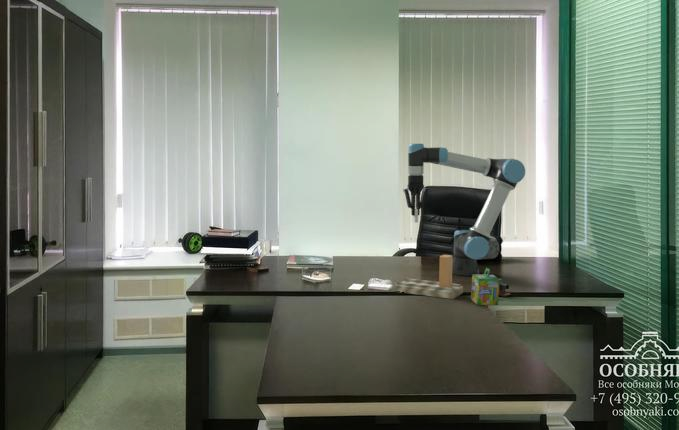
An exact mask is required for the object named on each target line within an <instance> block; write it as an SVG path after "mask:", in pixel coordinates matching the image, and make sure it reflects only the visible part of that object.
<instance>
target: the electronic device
mask: <svg viewBox="0 0 679 430" xmlns="http://www.w3.org/2000/svg"><path fill="white" fill-rule="evenodd" d="M509 288H510V285H509V284H507V283H505V281H504V279H503V278H499V294H498V297H502V298H509V297H510V296H511V293H509V292H507V291H506V290H509Z"/></svg>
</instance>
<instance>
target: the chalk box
mask: <svg viewBox="0 0 679 430" xmlns="http://www.w3.org/2000/svg"><path fill="white" fill-rule="evenodd" d="M490 271H491V269H490V268H489V267H486V268H485V270H484V273H483V274H481V273H479V274H472V275H471V292H470V293H471V294H470V301H472V303H474V304H475V305H477V306H499V296H498V294H499V279H500V278H499V277H497V276H496V275H494V274H492V273H491V274H490Z"/></svg>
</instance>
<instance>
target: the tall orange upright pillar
mask: <svg viewBox="0 0 679 430" xmlns="http://www.w3.org/2000/svg"><path fill="white" fill-rule="evenodd" d="M452 263H453V255H451V254H441V255H440V256H439V269H438V270H439V271H438V272H439V273H438V275H439V276H438V282H439V287H448V288H449V287H451V286H452V284H453V274H452Z"/></svg>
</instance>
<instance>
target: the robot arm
mask: <svg viewBox="0 0 679 430" xmlns="http://www.w3.org/2000/svg"><path fill="white" fill-rule="evenodd" d="M407 154H408V155H407V157H408V159H407V160H408V165H407V166H408V168H407V173H408V176H407V183H408V184H407V186H406V187H405V188H403V189H402V192H404V195H405V200H406V204H407V208H409V209H411V210H410V211H411V216H412V222H413V223H419V216H420V210H421V209H423V208H424V205H425V201H426V197H427V193H428V191H429V188H426V187H425V185H424V167H425V165H424V163H425V164H429V163H430V164H433V165H439V166H444V167H450V168H454V169H459V170H463V171H469V172H473V173H478V174H482V175H483V176H484V177H487V178H491V179H492V181H493V186H492V187H491V189H490V192H489V193H488V196H487V198H486V201H485V202H484V204H483V207H482V209H481V211H480V213H479V215H478V217H477V219H476V221H475V223H474V225H473V226H472V227H469V229H468V230H455V231H454V235H453V236H454V259H453V263H452V275H456V276H466V277H467V276H468V277H469V276H470V277H472V274H480V268H479V264H478V261H477V260H476V259H480V258H483V257H484V256H485V255H486V254H487V253H488V250H489V244H488V243H489V241H490V239H491V236H492V235H491V232H492V230H493V227H494V226H495V223H496V221H497V219H498V217H499V214H500V213H501V210H502V209H503V207H504V205H505V202H506V200H507V199H508V197H509V194H510V193H511V191H513V190H515V189H516V187H517V184H518V183H520V182H521V181H522V180H523V179H524V178H525V176H526V168H525V165H524V164H523V162H522V161H520V160H519V159H515V158H490V157H487V158H481V157H476V156H475V157H474V156H470V155H466V154H461V153H457V152H456V153H455V152H451V151H449V150H448V149H447V147H442V146H440V147H439V146H438V147H425V145H424V143H409V145H408V151H407ZM409 192H410V193H409ZM421 192H422V193H421ZM410 195H411V196H410ZM490 235H491V236H490Z"/></svg>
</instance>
